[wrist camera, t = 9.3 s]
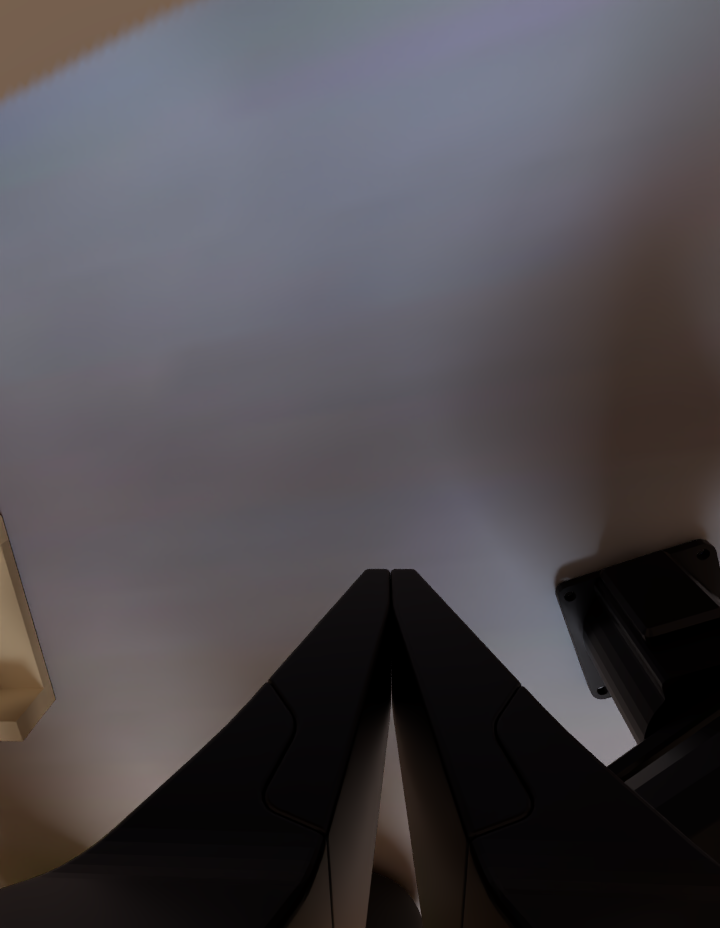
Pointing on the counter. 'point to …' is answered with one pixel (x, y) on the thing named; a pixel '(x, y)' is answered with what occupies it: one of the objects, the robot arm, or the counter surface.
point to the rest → (19, 655)
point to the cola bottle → (390, 906)
